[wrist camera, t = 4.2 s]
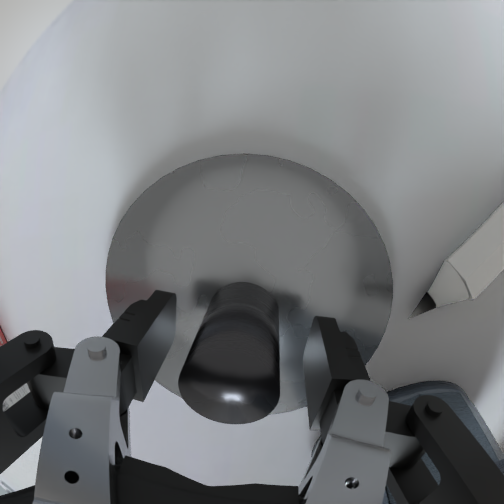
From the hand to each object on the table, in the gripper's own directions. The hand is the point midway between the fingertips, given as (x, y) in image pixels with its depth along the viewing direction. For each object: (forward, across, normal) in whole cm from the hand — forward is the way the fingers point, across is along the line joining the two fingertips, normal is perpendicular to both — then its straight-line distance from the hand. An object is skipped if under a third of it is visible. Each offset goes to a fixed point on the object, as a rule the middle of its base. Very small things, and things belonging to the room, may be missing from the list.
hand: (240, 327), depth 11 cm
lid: (+2, 0, 0) cm, 2 cm away
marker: (+2, -12, -7) cm, 14 cm away
